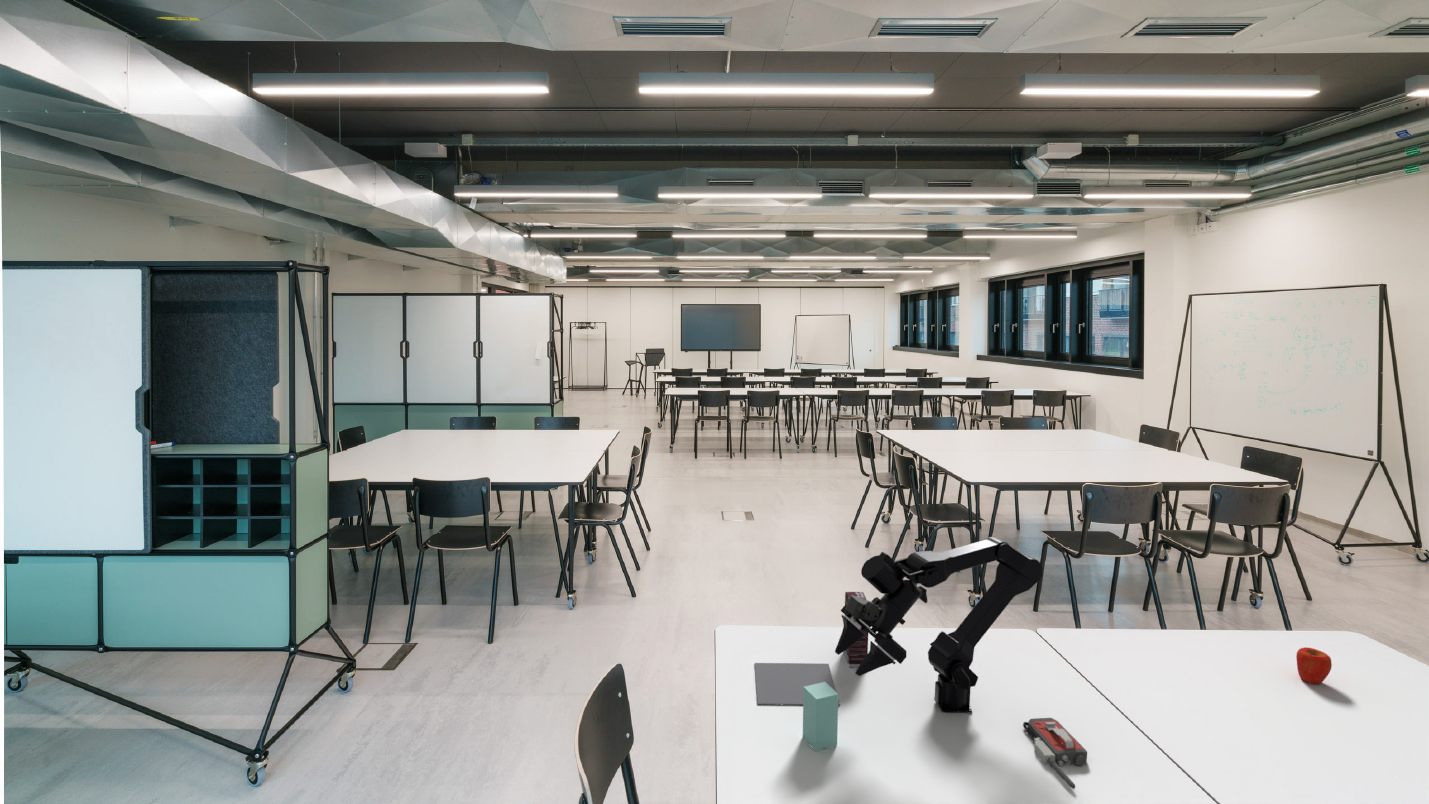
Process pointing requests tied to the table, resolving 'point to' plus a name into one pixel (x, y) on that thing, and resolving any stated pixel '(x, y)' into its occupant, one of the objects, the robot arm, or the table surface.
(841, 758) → the table surface
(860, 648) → the supplement box
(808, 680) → the charcoal mat
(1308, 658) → the apple
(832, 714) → the teal block
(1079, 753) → the walkie-talkie
